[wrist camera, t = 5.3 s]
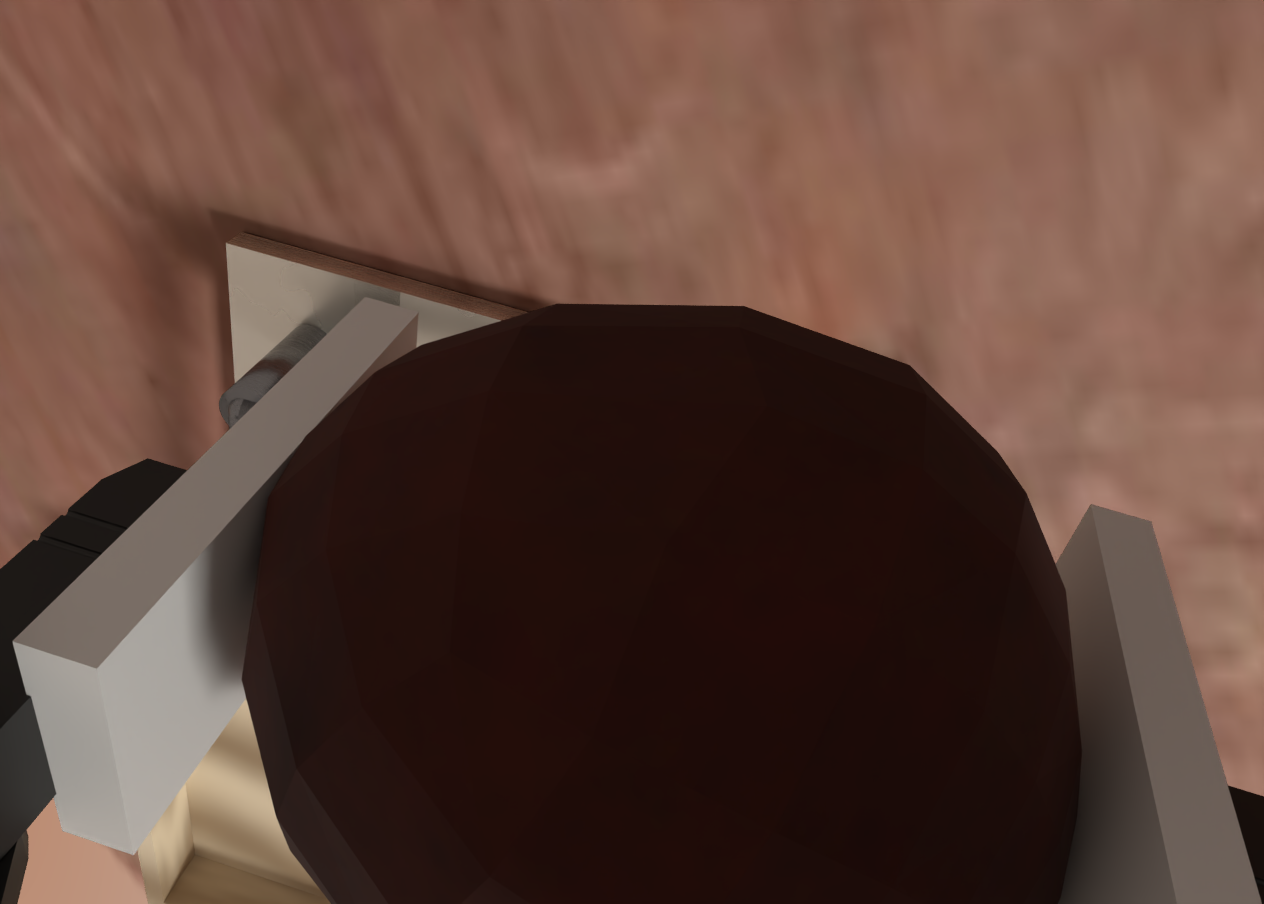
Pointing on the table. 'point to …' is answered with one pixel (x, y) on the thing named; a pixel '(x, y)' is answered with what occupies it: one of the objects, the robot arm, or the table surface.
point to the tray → (224, 834)
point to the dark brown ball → (661, 628)
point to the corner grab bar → (318, 310)
